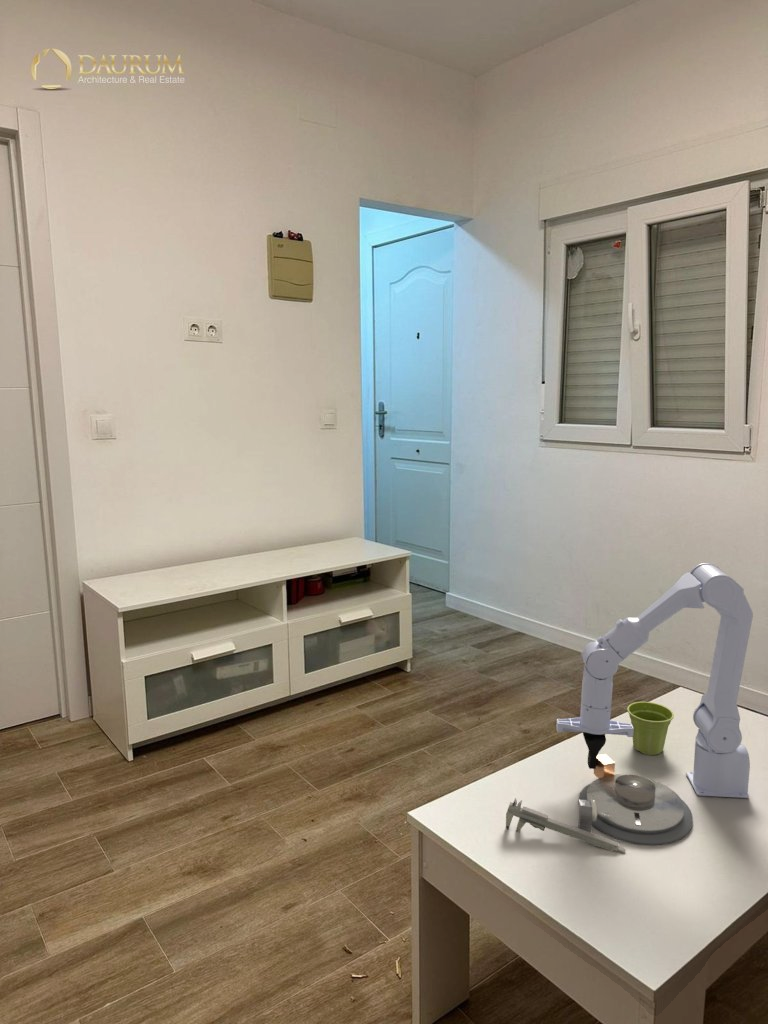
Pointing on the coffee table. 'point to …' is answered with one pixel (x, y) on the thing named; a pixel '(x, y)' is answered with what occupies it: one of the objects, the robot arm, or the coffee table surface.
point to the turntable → (649, 821)
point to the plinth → (644, 838)
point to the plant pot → (649, 726)
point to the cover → (635, 792)
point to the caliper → (556, 826)
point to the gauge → (587, 814)
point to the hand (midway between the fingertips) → (591, 766)
